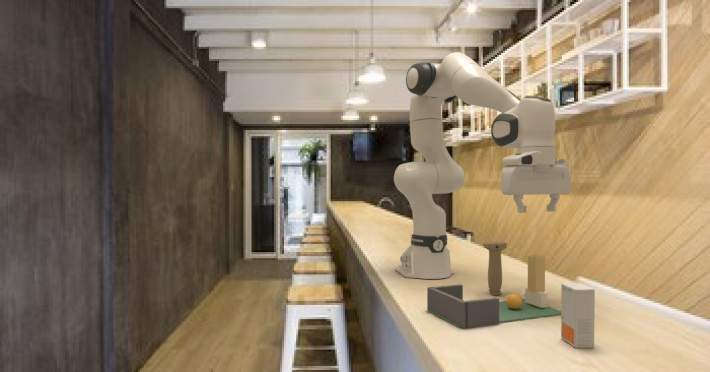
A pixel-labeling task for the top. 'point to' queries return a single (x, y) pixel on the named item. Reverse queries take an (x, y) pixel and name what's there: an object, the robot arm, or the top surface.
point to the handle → (495, 266)
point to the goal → (462, 307)
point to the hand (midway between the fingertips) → (536, 212)
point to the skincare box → (577, 315)
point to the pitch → (516, 312)
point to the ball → (514, 301)
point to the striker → (536, 282)
